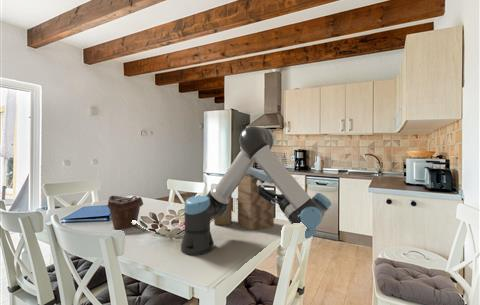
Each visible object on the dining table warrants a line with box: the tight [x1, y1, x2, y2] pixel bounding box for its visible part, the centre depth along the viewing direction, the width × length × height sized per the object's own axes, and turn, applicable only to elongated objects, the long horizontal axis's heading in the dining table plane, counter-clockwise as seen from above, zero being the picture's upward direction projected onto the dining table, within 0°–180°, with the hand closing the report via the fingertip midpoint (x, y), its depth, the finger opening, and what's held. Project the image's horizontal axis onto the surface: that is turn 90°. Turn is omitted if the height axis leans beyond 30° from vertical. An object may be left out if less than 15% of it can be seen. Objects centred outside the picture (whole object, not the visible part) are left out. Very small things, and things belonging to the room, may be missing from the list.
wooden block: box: [213, 193, 233, 226], centre depth 153 cm, size 10×10×20 cm
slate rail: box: [246, 166, 274, 185], centre depth 143 cm, size 4×26×4 cm, turn 45°
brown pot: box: [107, 195, 144, 229], centre depth 149 cm, size 18×20×18 cm
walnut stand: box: [237, 173, 275, 231], centre depth 151 cm, size 16×16×32 cm
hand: (268, 181), depth 132 cm, fingers open, 13 cm apart
